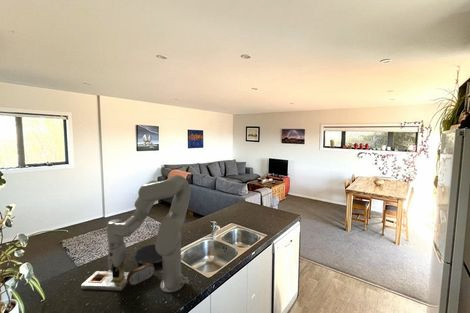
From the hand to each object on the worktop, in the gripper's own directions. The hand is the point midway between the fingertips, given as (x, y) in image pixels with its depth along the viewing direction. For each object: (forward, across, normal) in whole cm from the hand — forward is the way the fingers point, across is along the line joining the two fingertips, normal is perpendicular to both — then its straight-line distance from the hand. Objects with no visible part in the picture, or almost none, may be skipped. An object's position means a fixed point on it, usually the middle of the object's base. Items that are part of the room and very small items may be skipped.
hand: (118, 274), depth 122 cm
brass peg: (+3, 0, 0) cm, 3 cm away
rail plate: (+5, 0, +6) cm, 8 cm away
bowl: (+5, +23, -9) cm, 25 cm away
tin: (+5, +2, -12) cm, 13 cm away
